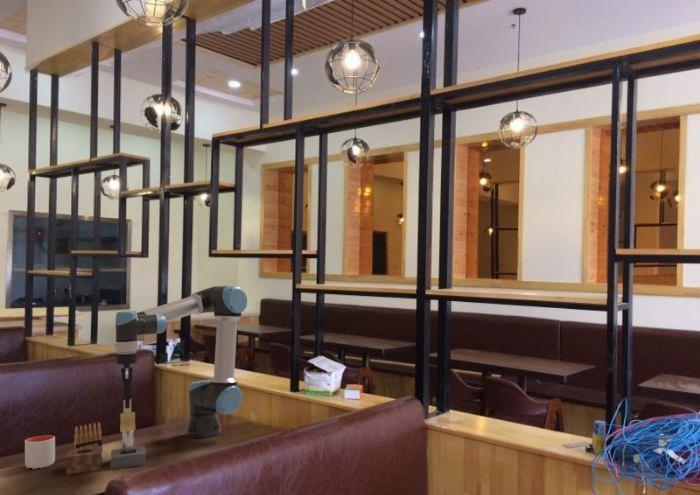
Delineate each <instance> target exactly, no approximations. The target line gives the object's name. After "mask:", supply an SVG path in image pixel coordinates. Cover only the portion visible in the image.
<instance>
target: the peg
mask: <svg viewBox="0 0 700 495" xmlns="http://www.w3.org/2000/svg"><path fill="white" fill-rule="evenodd" d="M134 431H135V430H134ZM134 431H125V432H121V433H122V434H121V436H122V448H123V454H128V453H134V447H135V437H134V436H135V433H134Z"/></svg>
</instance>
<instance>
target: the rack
mask: <svg viewBox="0 0 700 495" xmlns="http://www.w3.org/2000/svg"><path fill="white" fill-rule="evenodd" d="M102 453H103V445H102V446H95V447H87V448H78V449H74V448H71V449H69V451H68V453H67V454H66V475H75V474H80V473H87V472H88V473H89V472H95V471H97V472H99V471H101V470H102V469H101V467H102V462H103V458H102V457H103V456H102Z"/></svg>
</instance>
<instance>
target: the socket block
mask: <svg viewBox="0 0 700 495" xmlns="http://www.w3.org/2000/svg"><path fill="white" fill-rule="evenodd" d="M146 454H147V453H146V446H145V445H139V446H134V453H128V454H123V447H122V448H114V449H111V450H110V470H116V469H123V468H129V467H136V466H137V467H140V466H145V465H146V464H147V463H146V461H147V457H146Z"/></svg>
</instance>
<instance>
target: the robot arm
mask: <svg viewBox="0 0 700 495" xmlns="http://www.w3.org/2000/svg"><path fill="white" fill-rule="evenodd" d="M247 306H248V297H247V294H246V292H245V291H244V289H243V288H242V287H240V286H237V285H219V286H217V285H216V286H210V287H208V288H205V289H202V290H200V291H196V292H193V293H191V294H190V295H189V296H187V297H185V298H181V299H179V300H174V301H171V302H168V303H164V304H162V305H159V306H154V307H151V308H148V309H145V310H142V311H139V312H137V311H136V310H126V311H124V310H123V311H118V312H116V314H115V323H114V324H115V344H114V345H113V346H114V347H115V352H116V354H115V364H116V365H123V367H121V368H120V369H121V370H120V374H121V380H122V383H123V397H121V400H122V402H123V406H122V407H123V409H122V410H123V413H131V412H132V398H134V396H133V395H132V391H131V389H132V388H131V386H132V385H131V381H132V380H133V367H131V364H132V365H133V364H136V363H138V352H137V351H138V337H139V336H145V335H147V336H148V335H157V334H163V333H164V332H165V331H166V329H167V323H170V322H173V321H176V320H178V319H181V318H184V317H188V316H191V315H193V314H195V315H201V314H206V313H207V314H208V313H213V317H214V319H216V337H215V349H214V350H215V353H214V367H213V377H212V378H211V379H205V380H198V381H193V382H191V383H190V384H189V385H188V405H189V406H188V408H189V409H188V410H189V418H188V421H187V425H186V428H185V436H186V437H187V436H188V438H191V439H192V438H194V439H197V438H198V439H200V438H209V437H214V436H217V435H220V434H221V433H222V428H221V423H220V421H219V418H218V414H221V415H230V414H233V413H234V412H236V411H237V409H239V408H240V406H241V405H242V404H241V403H242V400H243V393H242V391H241V389H240V388H239V387H238V380H237V379H236V378H235V367H236V365H235V364H236V354H237V352H236V349H237V348H236V347H237V335H238V334H237V330H238V321H239V320H240V319H241V318H242V313H243V312H244V311H246V310H245V309H246V308H247ZM217 413H218V414H217Z"/></svg>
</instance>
